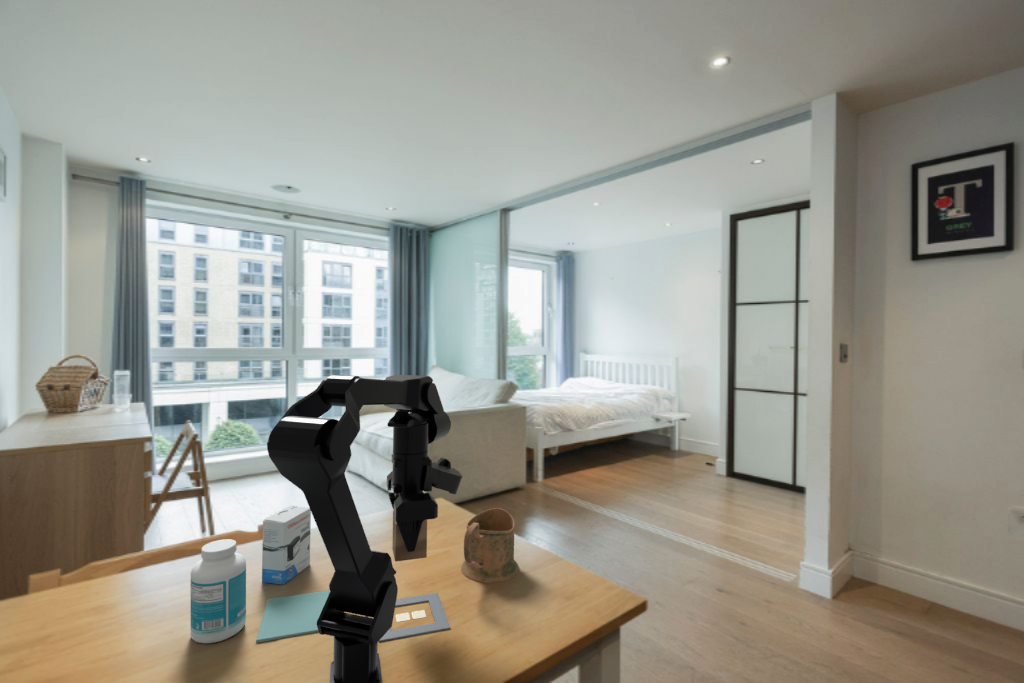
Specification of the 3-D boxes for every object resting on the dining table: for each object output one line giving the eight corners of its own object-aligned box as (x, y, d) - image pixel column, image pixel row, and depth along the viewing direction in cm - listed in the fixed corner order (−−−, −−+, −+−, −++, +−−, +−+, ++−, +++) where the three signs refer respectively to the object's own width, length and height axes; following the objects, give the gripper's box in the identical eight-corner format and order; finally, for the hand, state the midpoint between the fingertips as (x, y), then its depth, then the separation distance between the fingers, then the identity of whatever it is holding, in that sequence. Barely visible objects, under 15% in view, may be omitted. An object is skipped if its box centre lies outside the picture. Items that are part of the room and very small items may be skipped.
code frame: (450, 629, 77) (450, 627, 77) (378, 642, 73) (378, 640, 73) (437, 594, 87) (437, 592, 87) (374, 604, 83) (374, 602, 83)
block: (426, 557, 78) (427, 520, 78) (395, 561, 77) (395, 524, 77) (422, 545, 83) (422, 510, 83) (392, 548, 82) (392, 513, 81)
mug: (436, 592, 88) (437, 526, 88) (474, 552, 104) (475, 497, 104) (495, 604, 84) (497, 536, 84) (525, 561, 101) (526, 503, 101)
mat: (327, 630, 76) (327, 628, 76) (255, 642, 72) (256, 640, 72) (329, 592, 87) (329, 590, 87) (267, 601, 84) (267, 599, 84)
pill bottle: (234, 612, 80) (235, 531, 80) (253, 629, 76) (255, 543, 76) (182, 632, 75) (183, 545, 75) (199, 653, 70) (201, 560, 70)
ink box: (283, 585, 89) (284, 522, 89) (260, 582, 90) (261, 519, 90) (311, 564, 98) (312, 506, 98) (290, 562, 99) (290, 504, 98)
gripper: (471, 461, 74) (469, 563, 74) (447, 437, 91) (446, 519, 91) (397, 466, 70) (395, 573, 70) (387, 440, 88) (385, 525, 88)
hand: (409, 544), depth 80 cm, fingers closed on block, 5 cm apart
